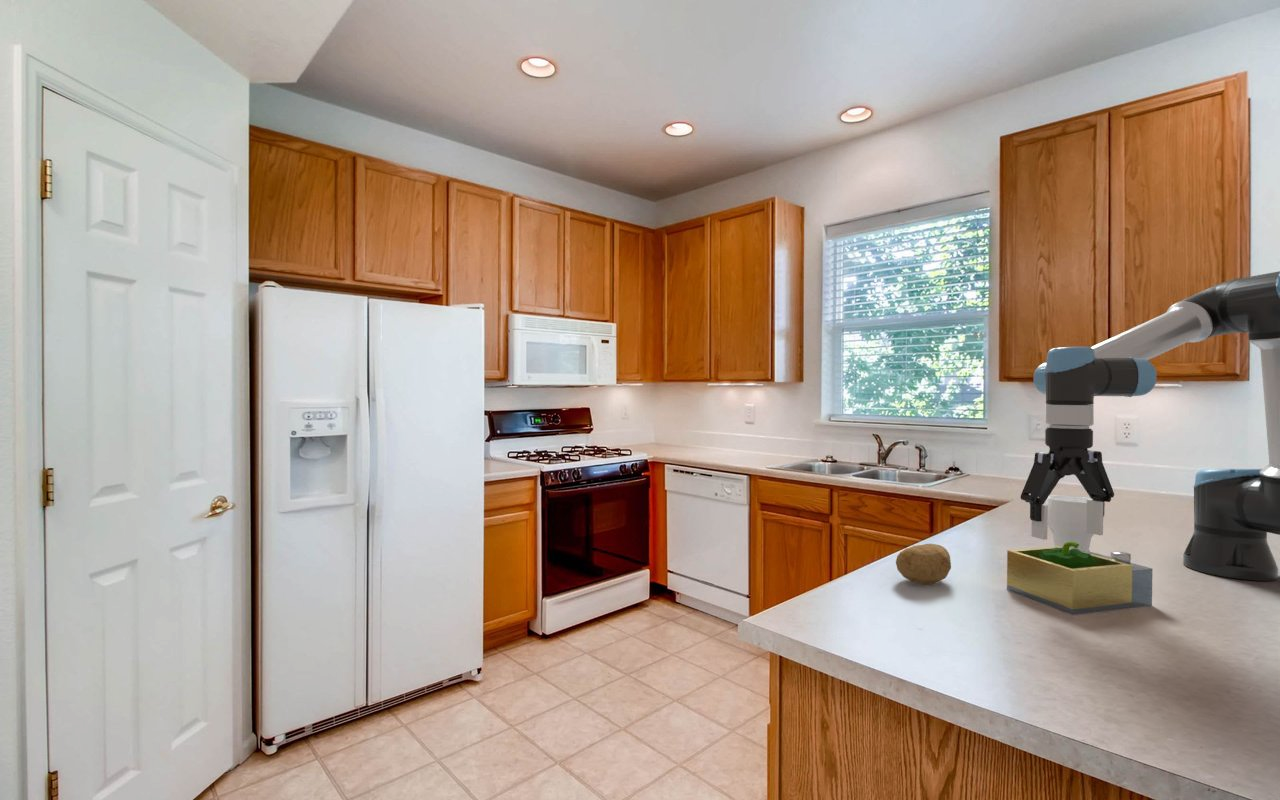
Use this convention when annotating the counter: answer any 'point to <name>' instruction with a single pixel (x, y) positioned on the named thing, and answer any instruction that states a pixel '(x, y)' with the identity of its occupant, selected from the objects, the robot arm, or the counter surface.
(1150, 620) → the counter surface
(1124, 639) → the counter surface
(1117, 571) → the gold open box
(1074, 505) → the cup
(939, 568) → the potato
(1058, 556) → the bell pepper
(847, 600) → the counter surface
